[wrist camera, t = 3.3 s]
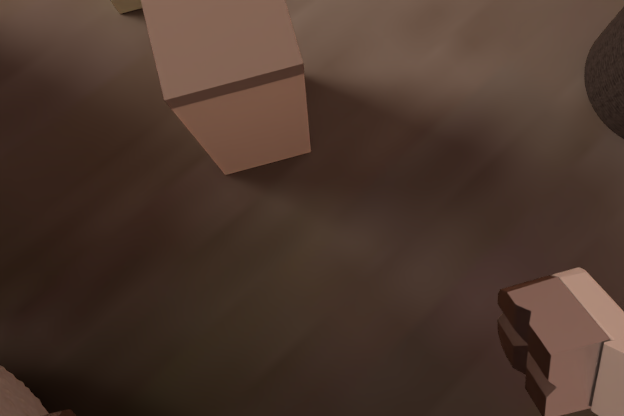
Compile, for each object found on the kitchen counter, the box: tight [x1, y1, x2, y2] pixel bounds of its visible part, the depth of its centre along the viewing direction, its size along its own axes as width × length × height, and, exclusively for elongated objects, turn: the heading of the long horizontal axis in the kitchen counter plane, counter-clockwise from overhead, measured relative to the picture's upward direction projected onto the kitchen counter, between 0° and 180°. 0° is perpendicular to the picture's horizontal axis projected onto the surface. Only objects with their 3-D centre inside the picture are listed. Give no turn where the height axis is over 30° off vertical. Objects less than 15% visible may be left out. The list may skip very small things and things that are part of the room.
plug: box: [141, 0, 311, 175], centre depth 19 cm, size 4×4×9 cm
